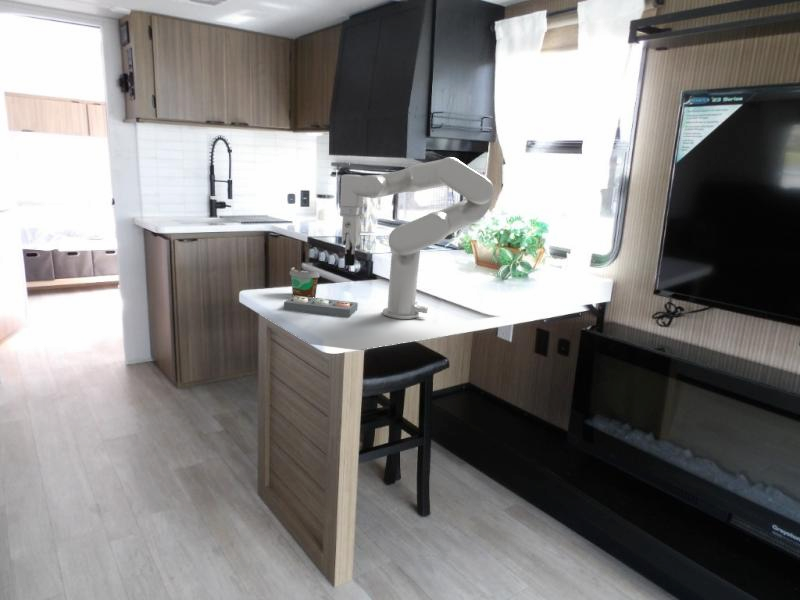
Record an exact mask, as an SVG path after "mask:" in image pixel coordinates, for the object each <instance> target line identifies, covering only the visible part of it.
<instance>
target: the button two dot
mask: <svg viewBox="0 0 800 600" xmlns="http://www.w3.org/2000/svg"><path fill="white" fill-rule="evenodd" d="M293 301H296V302H304V303H307V302H308V298H306V297H294V298H293Z"/></svg>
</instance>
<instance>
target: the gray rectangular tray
mask: <svg viewBox="0 0 800 600" xmlns="http://www.w3.org/2000/svg"><path fill="white" fill-rule="evenodd" d="M294 297H304V296H296V295H295V296H293V295H292V297H290V298H288V299H287V300H285V301H284V302H283V310H284V309H285V310H286V311H293V310H294V311H293V312H301V311H303V312H304V313H309V312H310V313H309V314H318V313H320V314H319V315H326V314H328V315H329V316H335V315H337V317H343V316H344V317H345V318H350V317H352V315H354V314H355V313H356V312H357V311H358V306H359V303H358V302H355V301H349V300H347V301H346V300H339V299H329V298H324V299H325V300H328V301H329V304H328V305H321V304H314V300H316V299H323V298H322V297H314V298H313V297H306V298H308V302H307V303H304V302H296V301H293V298H294ZM336 302H348V303H350V307H349V308H347V307H339V306H335V303H336ZM285 310H284V311H285ZM355 311H356V312H355ZM328 315H327V316H328Z"/></svg>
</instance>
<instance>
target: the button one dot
mask: <svg viewBox="0 0 800 600" xmlns="http://www.w3.org/2000/svg"><path fill="white" fill-rule="evenodd" d="M325 299H326V298H322V299H316V300H314V304H321V305H328V304H329V301H328V300H325Z"/></svg>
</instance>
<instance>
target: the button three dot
mask: <svg viewBox="0 0 800 600" xmlns="http://www.w3.org/2000/svg"><path fill="white" fill-rule="evenodd" d="M348 302H349V301H348ZM348 302H336V303H335V306H339V307H347V308H349V307H350V303H348Z"/></svg>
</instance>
